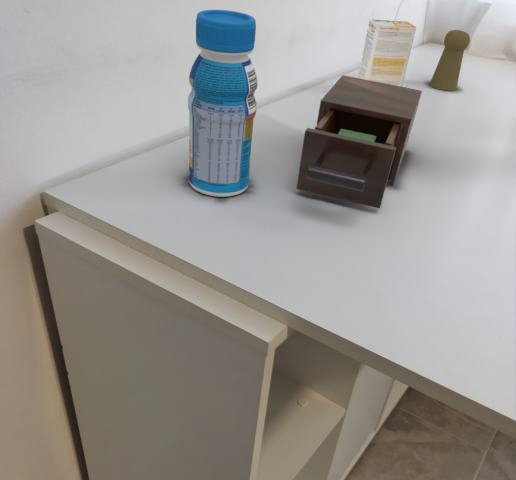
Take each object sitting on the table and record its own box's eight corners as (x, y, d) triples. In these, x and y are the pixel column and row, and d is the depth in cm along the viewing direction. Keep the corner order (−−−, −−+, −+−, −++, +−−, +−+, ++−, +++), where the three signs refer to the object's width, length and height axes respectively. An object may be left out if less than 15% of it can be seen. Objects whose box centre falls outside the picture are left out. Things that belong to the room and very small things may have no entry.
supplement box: (391, 91, 114) (408, 20, 105) (399, 98, 110) (417, 26, 102) (354, 89, 112) (369, 17, 104) (361, 97, 109) (377, 23, 100)
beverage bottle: (205, 203, 68) (210, 25, 55) (176, 176, 73) (175, 7, 60) (261, 192, 72) (278, 23, 59) (230, 167, 77) (239, 6, 64)
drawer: (372, 228, 66) (388, 167, 61) (284, 206, 68) (292, 146, 63) (393, 170, 80) (408, 117, 75) (320, 154, 82) (329, 101, 77)
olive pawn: (455, 92, 118) (473, 36, 110) (427, 87, 119) (443, 31, 112) (457, 85, 122) (475, 31, 115) (431, 80, 123) (446, 26, 116)
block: (334, 163, 77) (341, 128, 74) (368, 171, 76) (376, 136, 73) (326, 176, 73) (333, 140, 70) (362, 185, 72) (371, 148, 69)
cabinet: (392, 186, 78) (411, 118, 71) (309, 167, 80) (320, 100, 74) (405, 152, 88) (422, 90, 82) (331, 136, 91) (342, 75, 84)
